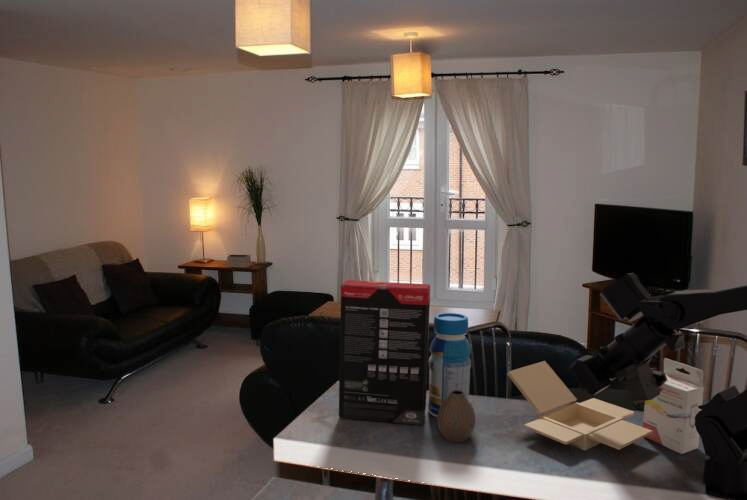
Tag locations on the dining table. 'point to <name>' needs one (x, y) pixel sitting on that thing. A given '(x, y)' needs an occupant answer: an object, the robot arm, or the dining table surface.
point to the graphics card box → (384, 351)
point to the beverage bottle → (448, 359)
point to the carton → (589, 425)
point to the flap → (541, 387)
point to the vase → (456, 417)
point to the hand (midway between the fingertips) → (581, 387)
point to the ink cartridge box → (676, 408)
